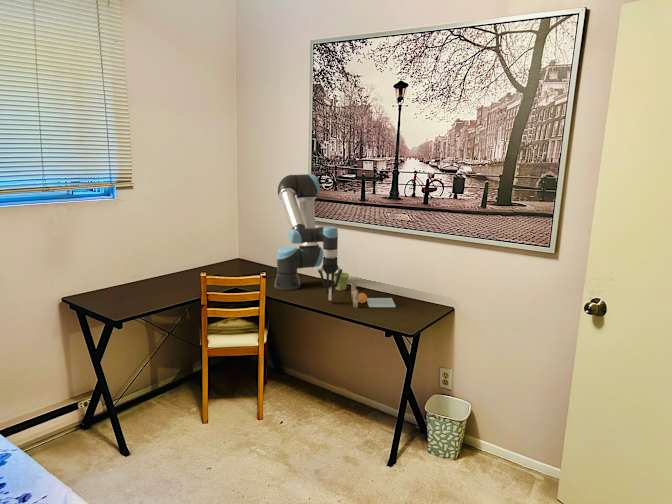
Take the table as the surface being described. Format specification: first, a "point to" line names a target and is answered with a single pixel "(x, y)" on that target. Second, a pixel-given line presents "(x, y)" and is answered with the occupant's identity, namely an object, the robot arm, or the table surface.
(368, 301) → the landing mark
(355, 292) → the gate post
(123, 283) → the table surface
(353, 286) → the gate post
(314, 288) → the table surface
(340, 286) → the plant pot
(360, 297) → the ball
